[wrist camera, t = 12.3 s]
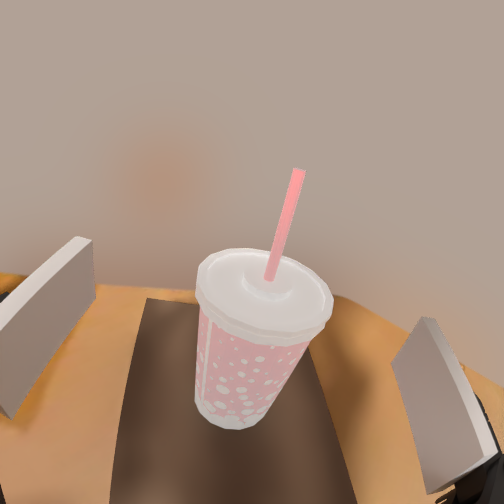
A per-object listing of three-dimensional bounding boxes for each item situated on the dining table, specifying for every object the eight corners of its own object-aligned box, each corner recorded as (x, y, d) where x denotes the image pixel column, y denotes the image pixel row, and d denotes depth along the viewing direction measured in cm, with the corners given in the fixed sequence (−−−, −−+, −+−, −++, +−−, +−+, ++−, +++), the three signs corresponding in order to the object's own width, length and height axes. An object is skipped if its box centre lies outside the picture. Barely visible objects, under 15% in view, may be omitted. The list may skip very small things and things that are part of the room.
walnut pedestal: (284, 346, 28) (297, 315, 26) (330, 527, 12) (360, 514, 11) (146, 331, 25) (146, 297, 24) (120, 530, 10) (107, 522, 8)
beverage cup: (298, 412, 17) (403, 202, 11) (218, 457, 13) (305, 202, 7) (241, 351, 21) (297, 154, 15) (164, 380, 17) (187, 143, 11)
